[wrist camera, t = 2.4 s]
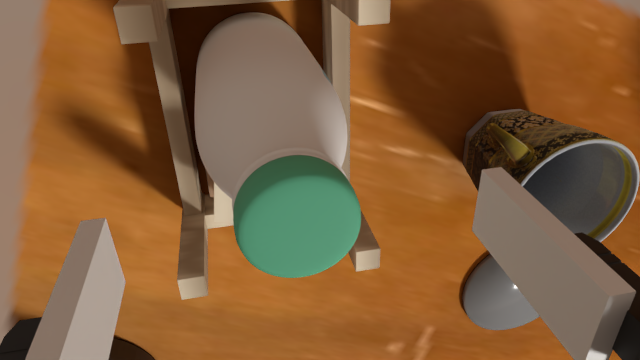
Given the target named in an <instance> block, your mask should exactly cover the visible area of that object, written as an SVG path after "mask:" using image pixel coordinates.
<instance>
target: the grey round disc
mask: <svg viewBox="0 0 640 360" xmlns="http://www.w3.org/2000/svg"><path fill="white" fill-rule="evenodd" d="M462 302H463V307H464V310H465V312H466V313H467V315H468V317H469V318H470V319H471V320H472V322H474V323H475V324H476V325H478V326H480V327H482V328H485V329H490V330H505V329H511V328H515V327H518V326H521V325H524V324H526V323H529V322H531V321H533V320H534V319H536V318H538V317H539V315H538V313H537V312H536V311H535V309H534V308H533V307H532V306H531V304H530V303H529V302H528V301H527V299H526V298H525V297H524V296H523V294H522V293H521V292H520V290H519V289H518V288H517V287H516V285H515V284H514V283H513V282H512V280H511V279H510V278H509V277H508V275H507V274H506V273H505V271H504V270H503V269H502V268H501V266H500V265H499V264H498V263H497V261H496V260H495V259H494V258H493V256H492V255H491V254H490V255H488V256H487V257H486V258H485V259H483V260H482V261H481V262H480V263H479V264H478V265H477V267H476V268H475V269H474V270H473V272H472V273H471V274H470V276H469V278H468V280H467V282H466V284H465V287H464V290H463V296H462Z"/></svg>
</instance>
